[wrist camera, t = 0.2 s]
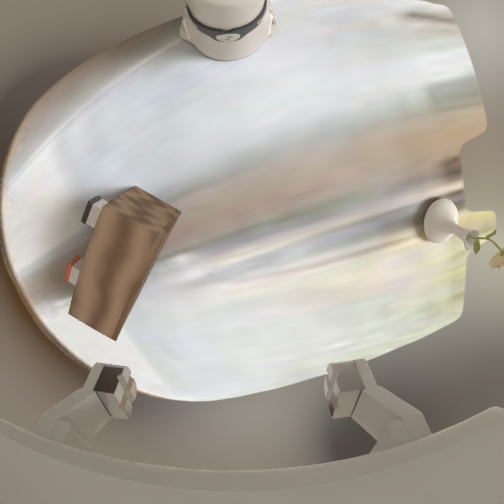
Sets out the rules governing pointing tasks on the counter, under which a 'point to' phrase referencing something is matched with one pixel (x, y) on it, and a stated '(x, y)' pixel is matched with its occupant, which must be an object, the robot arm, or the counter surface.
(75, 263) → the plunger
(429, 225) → the flower in vase
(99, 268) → the button panel
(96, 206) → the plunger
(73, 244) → the counter surface
